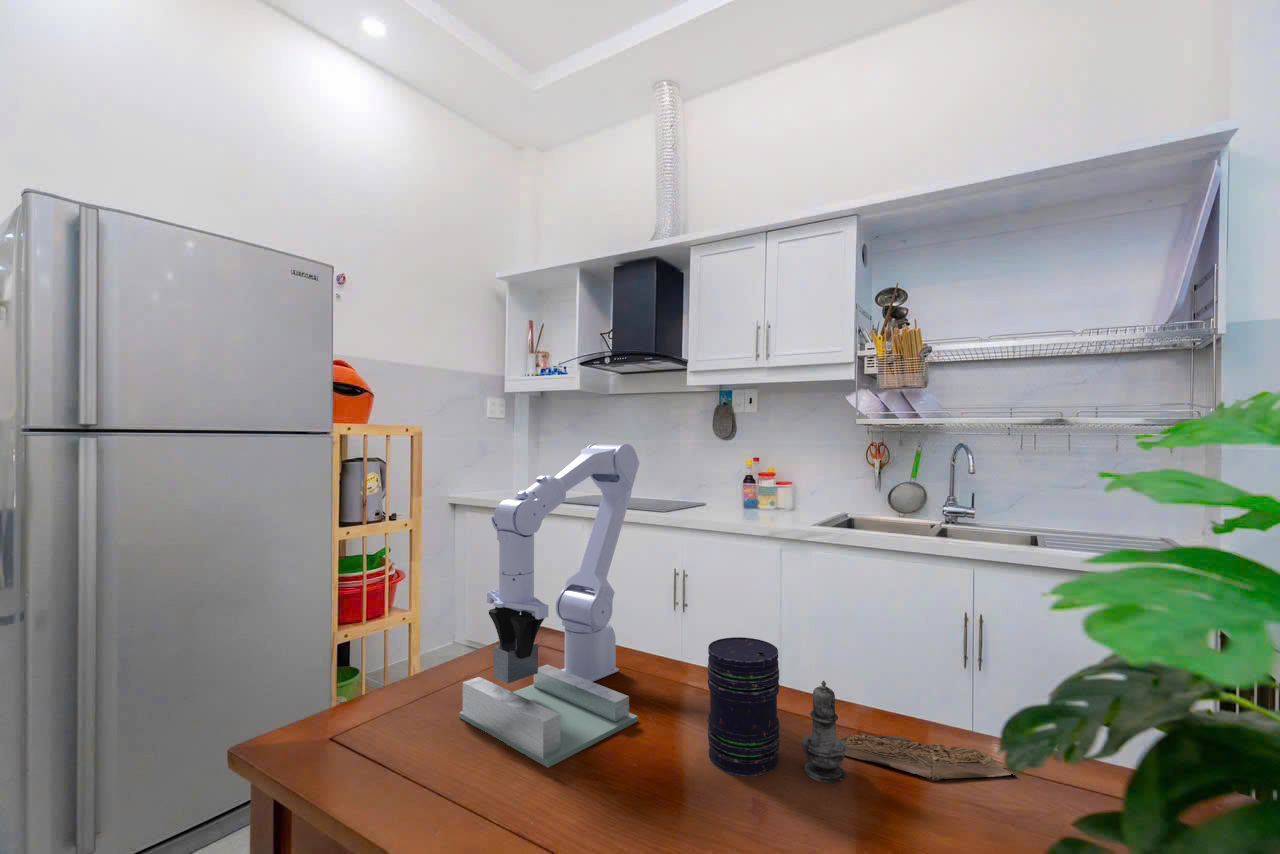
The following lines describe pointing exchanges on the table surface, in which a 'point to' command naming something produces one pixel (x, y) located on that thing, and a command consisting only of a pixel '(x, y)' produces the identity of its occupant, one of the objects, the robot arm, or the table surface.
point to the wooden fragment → (923, 757)
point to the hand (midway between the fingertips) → (516, 653)
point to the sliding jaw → (582, 693)
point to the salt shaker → (824, 739)
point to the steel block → (514, 662)
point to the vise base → (569, 725)
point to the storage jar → (743, 706)
